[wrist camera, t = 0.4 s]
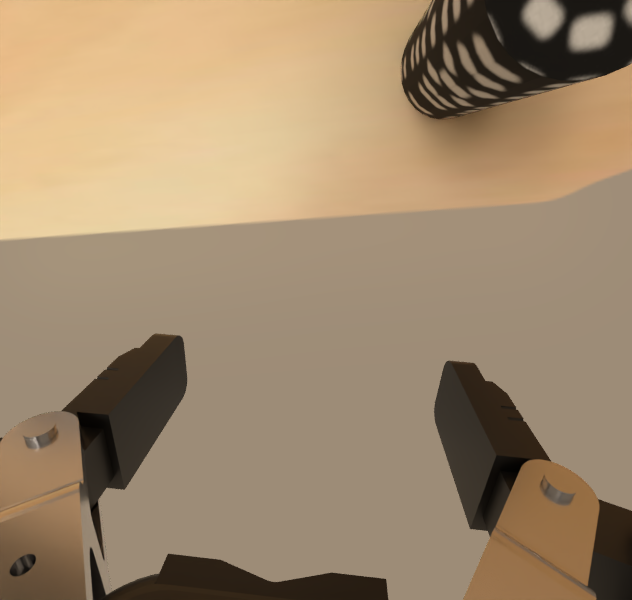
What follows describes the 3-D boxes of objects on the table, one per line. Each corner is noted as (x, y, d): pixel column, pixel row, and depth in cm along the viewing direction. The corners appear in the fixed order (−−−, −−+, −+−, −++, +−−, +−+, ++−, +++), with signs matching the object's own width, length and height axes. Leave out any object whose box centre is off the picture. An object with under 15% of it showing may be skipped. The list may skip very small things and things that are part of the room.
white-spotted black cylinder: (399, 14, 30) (490, -199, 12) (504, -2, 29) (780, -259, 11) (401, 124, 33) (475, 94, 15) (495, 113, 32) (698, 65, 14)
